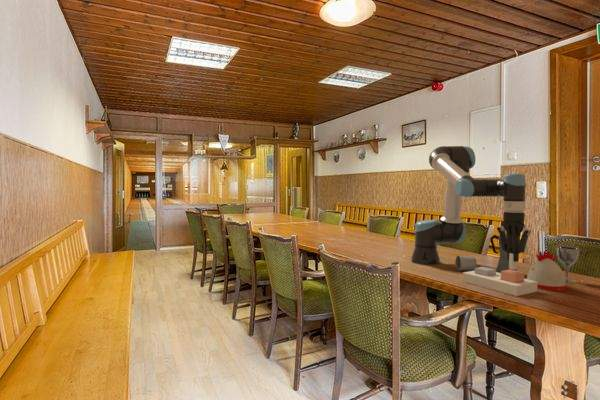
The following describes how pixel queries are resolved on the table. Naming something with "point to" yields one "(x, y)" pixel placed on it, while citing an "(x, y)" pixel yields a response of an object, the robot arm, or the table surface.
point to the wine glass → (567, 258)
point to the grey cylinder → (465, 263)
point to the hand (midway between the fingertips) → (512, 268)
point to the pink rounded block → (512, 276)
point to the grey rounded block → (485, 271)
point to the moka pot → (501, 256)
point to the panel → (500, 283)
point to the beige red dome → (547, 273)
